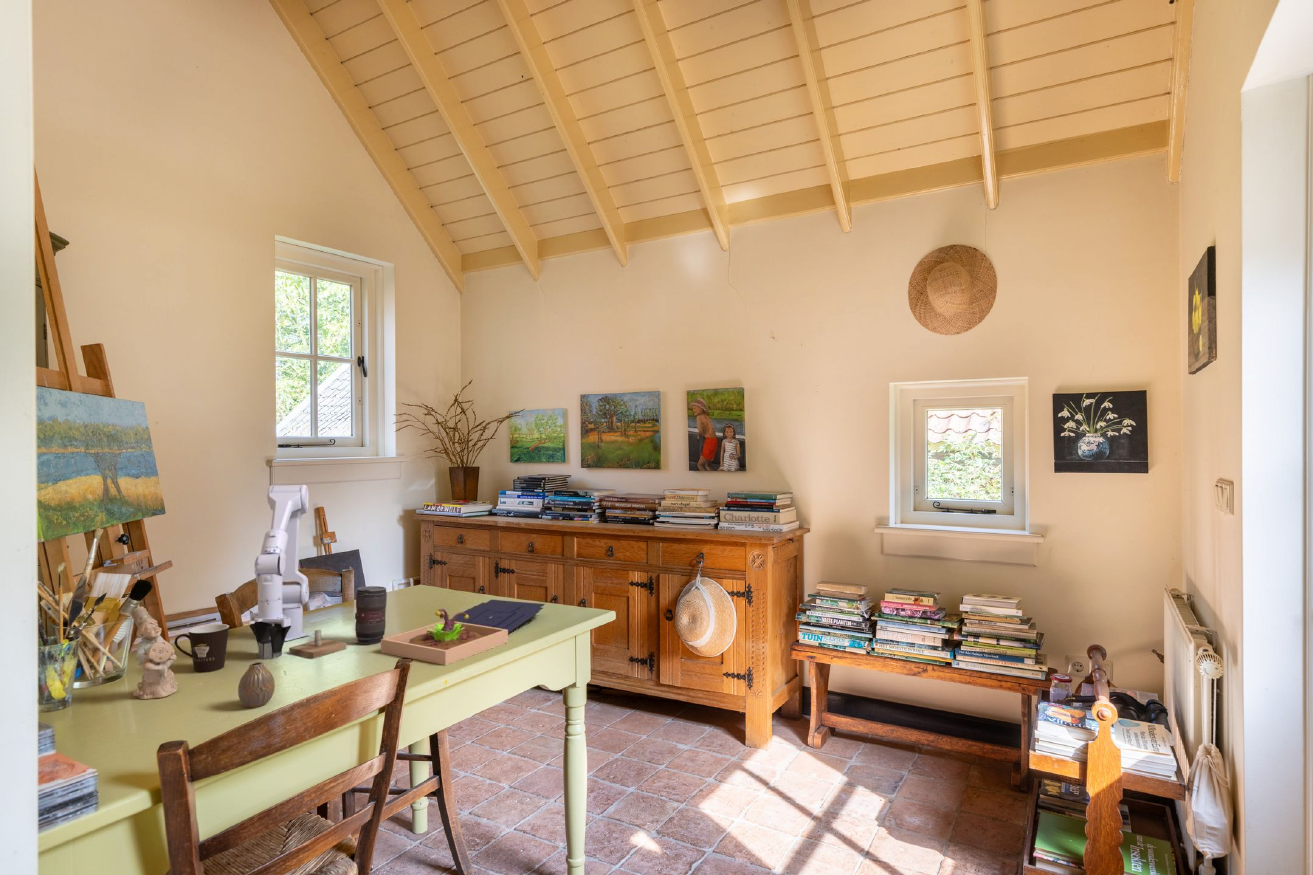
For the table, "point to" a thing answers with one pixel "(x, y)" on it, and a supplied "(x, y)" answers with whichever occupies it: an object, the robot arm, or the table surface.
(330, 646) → the shaft stand
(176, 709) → the table surface
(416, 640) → the plant
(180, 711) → the table surface
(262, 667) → the vase
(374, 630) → the camera lens
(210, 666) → the coffee mug
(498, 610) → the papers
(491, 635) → the tan flat square tray
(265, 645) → the ring
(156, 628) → the figurine
